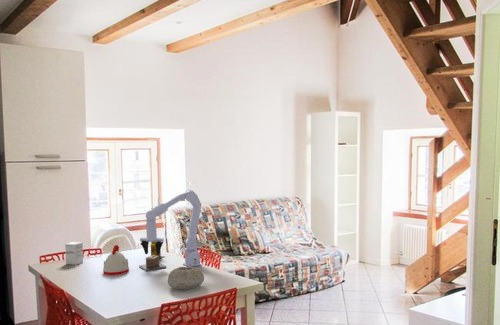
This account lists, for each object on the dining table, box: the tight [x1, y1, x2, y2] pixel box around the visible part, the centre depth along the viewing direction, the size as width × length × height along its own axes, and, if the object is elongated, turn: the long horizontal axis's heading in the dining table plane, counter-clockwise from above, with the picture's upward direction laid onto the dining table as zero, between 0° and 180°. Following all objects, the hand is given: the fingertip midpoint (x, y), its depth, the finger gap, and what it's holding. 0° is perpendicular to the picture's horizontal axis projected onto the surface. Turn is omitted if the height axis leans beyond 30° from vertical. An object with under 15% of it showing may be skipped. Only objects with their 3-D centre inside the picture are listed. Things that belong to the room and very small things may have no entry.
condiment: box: [150, 242, 166, 260], centre depth 284 cm, size 7×8×12 cm
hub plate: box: [138, 262, 167, 272], centre depth 260 cm, size 12×12×4 cm
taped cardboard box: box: [145, 255, 160, 267], centre depth 260 cm, size 5×5×6 cm
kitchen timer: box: [102, 244, 130, 276], centre depth 252 cm, size 14×14×15 cm
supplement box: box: [64, 241, 84, 266], centre depth 275 cm, size 7×7×13 cm
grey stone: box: [167, 266, 205, 291], centre depth 218 cm, size 18×18×10 cm
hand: (152, 254), depth 260 cm, fingers open, 7 cm apart
